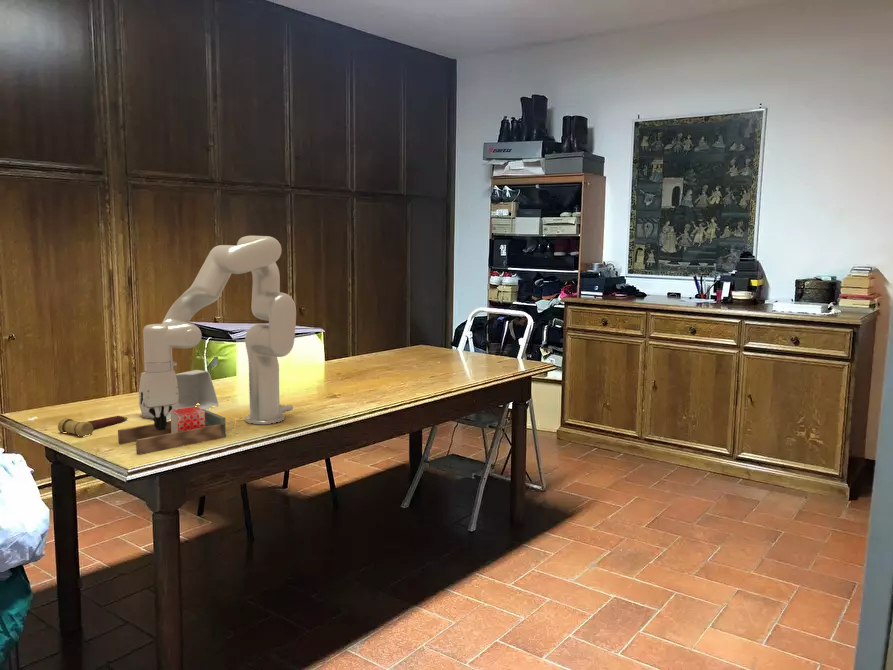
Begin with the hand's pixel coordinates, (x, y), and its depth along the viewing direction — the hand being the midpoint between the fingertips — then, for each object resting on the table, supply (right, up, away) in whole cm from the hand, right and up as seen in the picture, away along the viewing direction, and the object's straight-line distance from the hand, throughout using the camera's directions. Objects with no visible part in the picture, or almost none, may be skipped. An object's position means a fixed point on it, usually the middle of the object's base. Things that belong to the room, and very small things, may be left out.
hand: (160, 429), depth 209 cm
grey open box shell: (-10, +1, +38) cm, 39 cm away
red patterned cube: (+5, -3, +8) cm, 10 cm away
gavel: (-25, -2, +16) cm, 30 cm away
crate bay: (+2, -4, +3) cm, 5 cm away
